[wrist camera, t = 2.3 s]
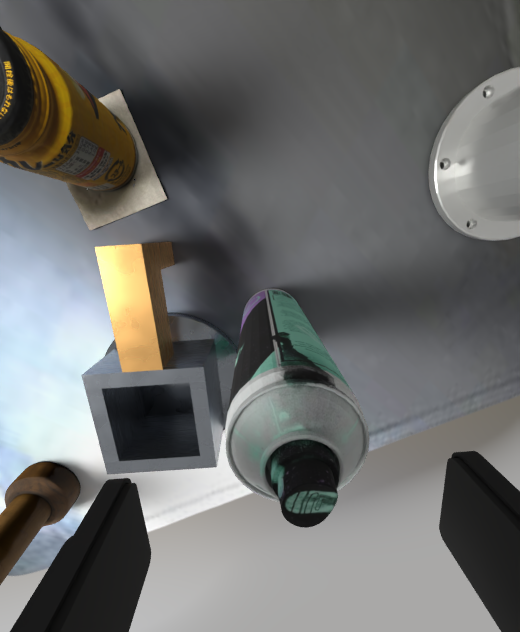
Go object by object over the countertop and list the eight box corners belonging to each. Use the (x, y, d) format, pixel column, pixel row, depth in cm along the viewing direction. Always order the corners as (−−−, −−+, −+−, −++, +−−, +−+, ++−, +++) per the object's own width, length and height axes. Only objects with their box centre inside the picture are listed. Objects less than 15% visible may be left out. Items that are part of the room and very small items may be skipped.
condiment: (120, 90, 22) (-24, -65, 11) (167, 199, 25) (89, 167, 13) (39, 127, 23) (-180, 17, 11) (92, 230, 25) (-48, 226, 14)
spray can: (235, 297, 27) (184, 455, 8) (291, 280, 27) (387, 401, 7) (253, 349, 28) (247, 592, 9) (306, 334, 28) (418, 553, 9)
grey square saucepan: (233, 237, 25) (225, 238, 19) (250, 434, 31) (249, 489, 24) (75, 248, 25) (11, 252, 19) (121, 442, 31) (84, 500, 24)
